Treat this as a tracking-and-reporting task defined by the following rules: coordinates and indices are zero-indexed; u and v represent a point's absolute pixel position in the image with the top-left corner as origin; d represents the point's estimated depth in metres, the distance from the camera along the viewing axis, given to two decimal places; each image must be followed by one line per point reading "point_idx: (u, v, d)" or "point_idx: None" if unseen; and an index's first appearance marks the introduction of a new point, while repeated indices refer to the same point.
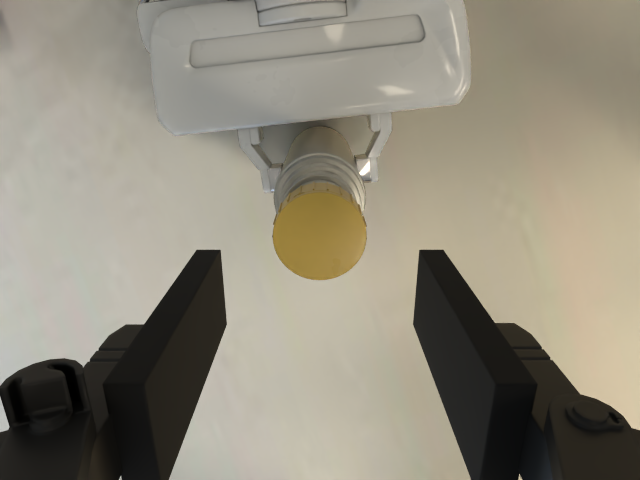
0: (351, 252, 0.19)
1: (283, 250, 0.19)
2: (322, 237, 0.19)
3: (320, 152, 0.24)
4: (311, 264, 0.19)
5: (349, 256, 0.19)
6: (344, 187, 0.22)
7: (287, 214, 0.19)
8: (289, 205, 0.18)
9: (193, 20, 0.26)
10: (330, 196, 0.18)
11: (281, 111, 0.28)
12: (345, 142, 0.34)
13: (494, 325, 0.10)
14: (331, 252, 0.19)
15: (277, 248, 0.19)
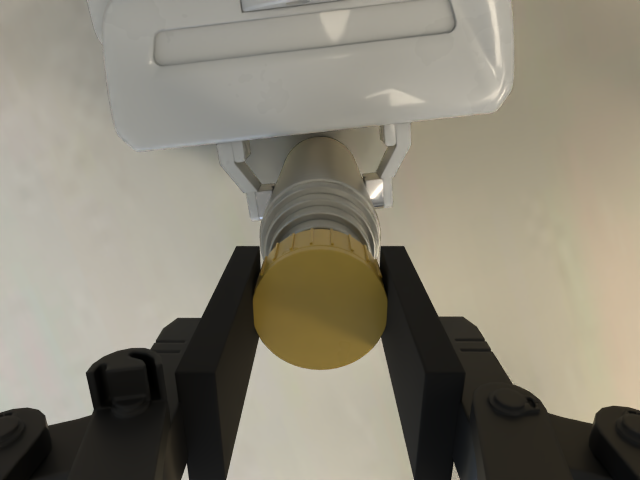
0: (366, 333, 0.13)
1: (267, 330, 0.13)
2: (324, 312, 0.13)
3: (321, 178, 0.18)
4: (308, 349, 0.13)
5: (363, 338, 0.13)
6: (354, 229, 0.16)
7: (272, 280, 0.13)
8: (275, 268, 0.13)
9: (157, 4, 0.20)
10: (336, 255, 0.12)
11: (271, 121, 0.22)
12: (351, 157, 0.28)
13: (437, 317, 0.10)
14: (337, 332, 0.13)
15: (258, 327, 0.13)
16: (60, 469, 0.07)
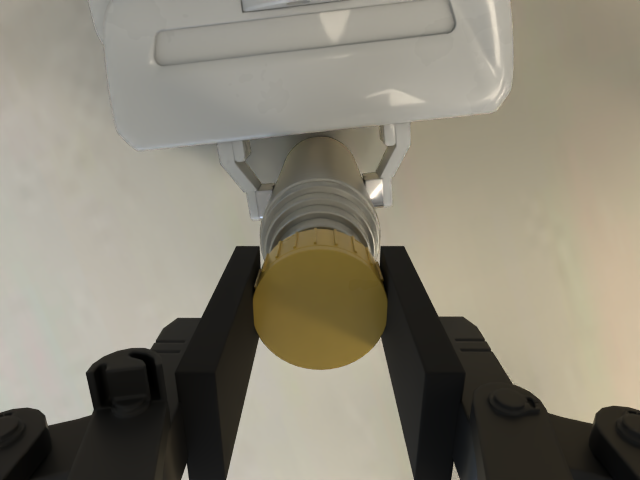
0: (335, 267, 0.12)
1: (347, 354, 0.14)
2: (318, 309, 0.13)
3: (321, 177, 0.18)
4: (363, 317, 0.13)
5: (342, 268, 0.13)
6: (353, 228, 0.16)
7: (293, 356, 0.14)
8: (280, 355, 0.14)
9: (158, 4, 0.20)
10: (256, 308, 0.13)
11: (271, 121, 0.22)
12: (351, 156, 0.28)
13: (437, 318, 0.10)
14: (340, 294, 0.13)
15: (345, 361, 0.14)
16: (60, 469, 0.07)
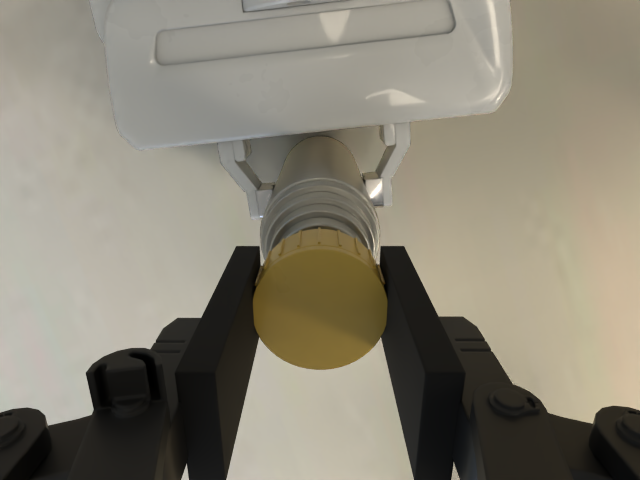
0: (267, 307, 0.13)
1: (365, 280, 0.13)
2: (316, 314, 0.13)
3: (321, 176, 0.18)
4: (317, 272, 0.13)
5: (268, 301, 0.13)
6: (353, 227, 0.16)
7: (374, 329, 0.13)
8: (375, 340, 0.13)
9: (159, 4, 0.21)
10: (325, 365, 0.14)
11: (272, 120, 0.22)
12: (351, 156, 0.28)
13: (437, 317, 0.10)
14: (295, 298, 0.13)
15: (374, 279, 0.13)
16: (60, 469, 0.07)
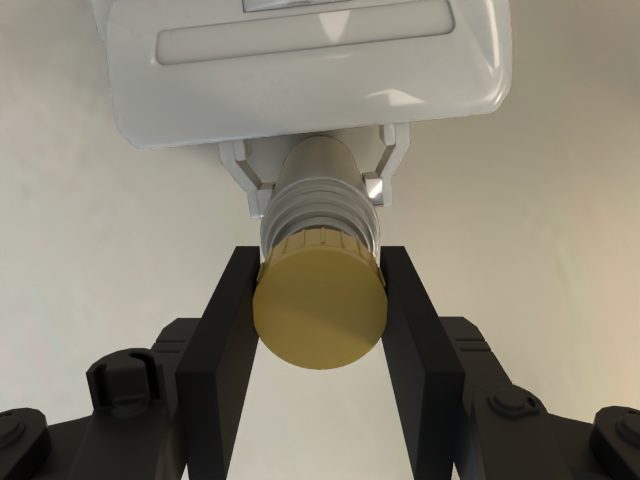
0: (322, 357, 0.14)
1: (275, 279, 0.13)
2: (322, 315, 0.13)
3: (321, 176, 0.18)
4: (277, 321, 0.13)
5: (315, 357, 0.14)
6: (353, 226, 0.16)
7: (329, 259, 0.12)
8: (343, 256, 0.12)
9: (160, 4, 0.21)
10: (382, 297, 0.13)
11: (272, 120, 0.22)
12: (351, 156, 0.28)
13: (437, 318, 0.10)
14: (308, 335, 0.13)
15: (273, 270, 0.13)
16: (60, 469, 0.07)
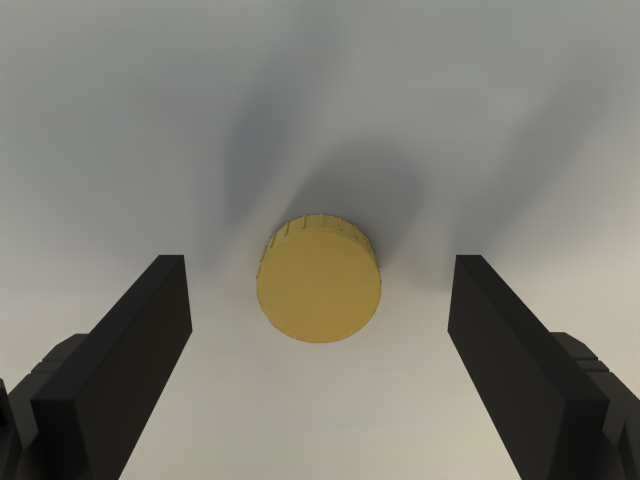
0: (321, 331, 0.15)
1: (278, 258, 0.14)
2: (321, 292, 0.14)
3: None
4: (280, 298, 0.14)
5: (315, 332, 0.15)
6: None
7: (327, 241, 0.14)
8: (340, 237, 0.14)
9: None
10: (375, 276, 0.14)
11: None
12: None
13: (551, 335, 0.09)
14: (308, 311, 0.15)
15: (276, 250, 0.14)
16: None
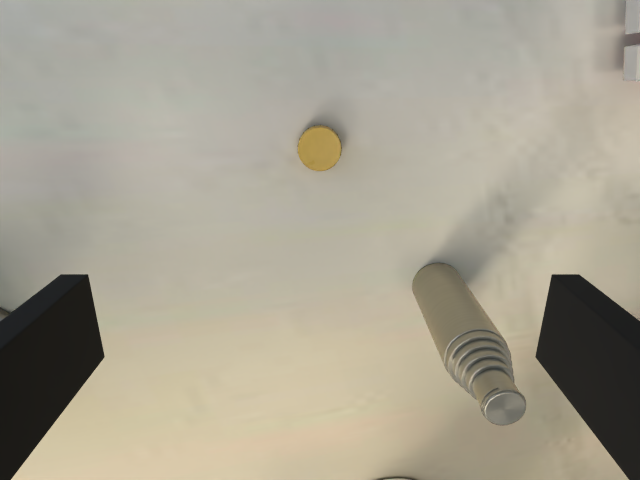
0: (320, 166, 0.42)
1: (305, 137, 0.41)
2: (320, 150, 0.41)
3: None
4: (306, 152, 0.41)
5: (318, 166, 0.42)
6: None
7: (322, 131, 0.41)
8: (326, 129, 0.41)
9: None
10: (339, 144, 0.41)
11: None
12: None
13: None
14: (315, 158, 0.41)
15: (305, 134, 0.41)
16: None
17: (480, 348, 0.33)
